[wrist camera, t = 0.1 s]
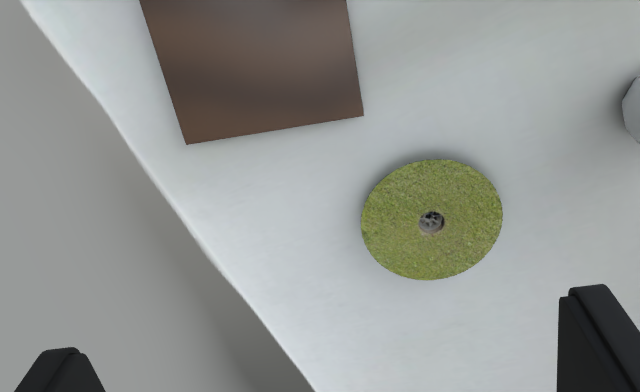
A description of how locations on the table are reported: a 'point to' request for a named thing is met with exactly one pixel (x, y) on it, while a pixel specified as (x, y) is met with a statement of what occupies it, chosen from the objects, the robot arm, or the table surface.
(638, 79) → the salt shaker
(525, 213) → the table surface
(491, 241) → the green grinding disc
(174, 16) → the walnut board
